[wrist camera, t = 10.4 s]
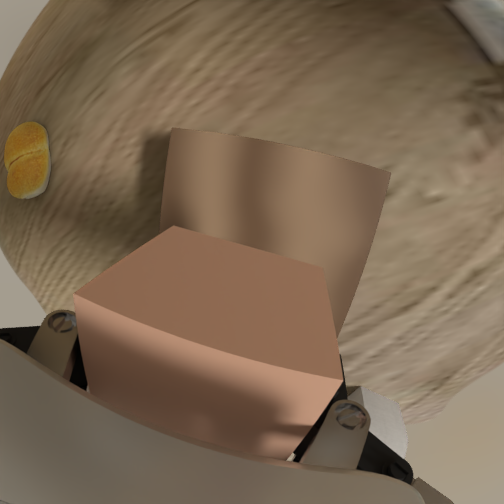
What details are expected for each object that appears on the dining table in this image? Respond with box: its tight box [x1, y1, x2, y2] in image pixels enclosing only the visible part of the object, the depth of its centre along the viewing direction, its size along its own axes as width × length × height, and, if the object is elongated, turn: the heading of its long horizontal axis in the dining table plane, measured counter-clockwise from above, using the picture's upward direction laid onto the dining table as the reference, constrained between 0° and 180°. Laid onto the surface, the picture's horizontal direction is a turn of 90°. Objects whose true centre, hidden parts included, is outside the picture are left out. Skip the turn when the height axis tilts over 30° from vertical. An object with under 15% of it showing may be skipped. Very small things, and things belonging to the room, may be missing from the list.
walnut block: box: [159, 128, 391, 337], centre depth 21 cm, size 14×14×5 cm
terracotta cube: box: [73, 226, 343, 461], centre depth 9 cm, size 6×6×6 cm
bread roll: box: [4, 121, 51, 199], centre depth 22 cm, size 8×9×4 cm
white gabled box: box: [347, 386, 408, 459], centre depth 23 cm, size 4×7×10 cm, turn 59°
